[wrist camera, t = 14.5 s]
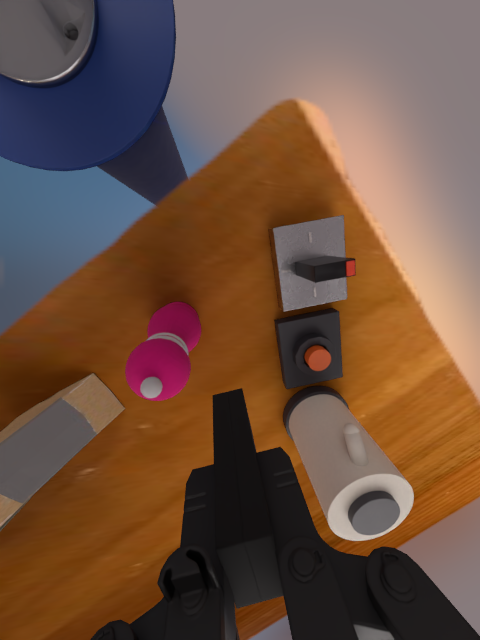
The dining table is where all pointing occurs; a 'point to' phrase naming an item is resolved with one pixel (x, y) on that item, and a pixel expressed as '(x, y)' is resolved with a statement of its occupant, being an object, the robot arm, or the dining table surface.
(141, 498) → the dining table surface
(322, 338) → the push button box
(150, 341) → the pepper mill
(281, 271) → the lever switch base
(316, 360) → the red push button
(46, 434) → the sandwich container
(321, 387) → the kettle
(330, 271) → the black switch lever
